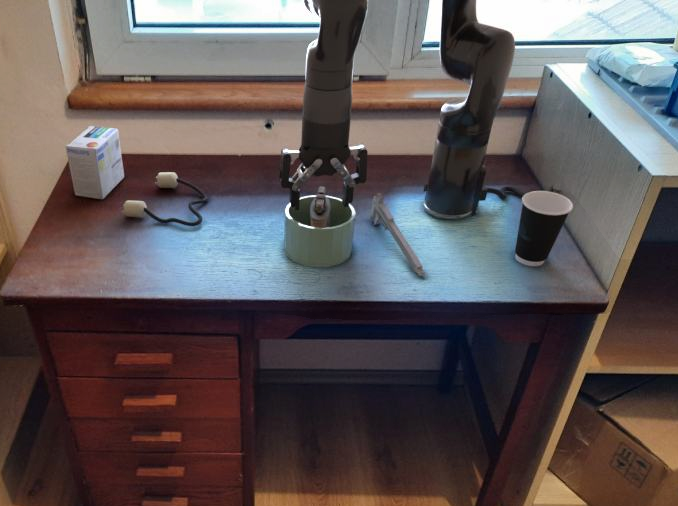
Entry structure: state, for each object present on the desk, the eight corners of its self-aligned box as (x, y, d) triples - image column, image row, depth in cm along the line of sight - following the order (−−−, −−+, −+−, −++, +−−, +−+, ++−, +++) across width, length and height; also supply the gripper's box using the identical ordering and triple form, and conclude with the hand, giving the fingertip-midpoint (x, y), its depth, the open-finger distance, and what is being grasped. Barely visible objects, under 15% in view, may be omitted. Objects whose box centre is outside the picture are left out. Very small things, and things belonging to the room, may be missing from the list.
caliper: (369, 220, 125) (373, 189, 121) (374, 219, 126) (378, 189, 122) (419, 277, 110) (425, 245, 106) (425, 276, 111) (431, 244, 107)
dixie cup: (497, 258, 115) (512, 201, 108) (520, 241, 119) (537, 185, 112) (539, 276, 110) (558, 218, 103) (562, 259, 114) (582, 201, 107)
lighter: (325, 258, 114) (329, 206, 107) (306, 256, 114) (309, 204, 108) (328, 234, 120) (332, 183, 113) (310, 233, 120) (313, 182, 114)
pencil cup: (342, 229, 123) (346, 193, 118) (358, 264, 114) (363, 226, 109) (279, 234, 122) (280, 197, 117) (290, 269, 112) (291, 231, 108)
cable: (228, 194, 134) (227, 178, 132) (194, 233, 122) (193, 216, 120) (159, 182, 138) (158, 166, 136) (121, 218, 127) (118, 202, 124)
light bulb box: (97, 173, 141) (88, 124, 135) (125, 177, 140) (119, 127, 133) (73, 196, 134) (63, 145, 127) (104, 200, 132) (95, 149, 125)
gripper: (285, 124, 98) (283, 220, 109) (377, 119, 100) (367, 214, 110) (277, 106, 104) (276, 199, 115) (365, 101, 105) (356, 193, 116)
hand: (320, 206), depth 112 cm, fingers open, 8 cm apart
